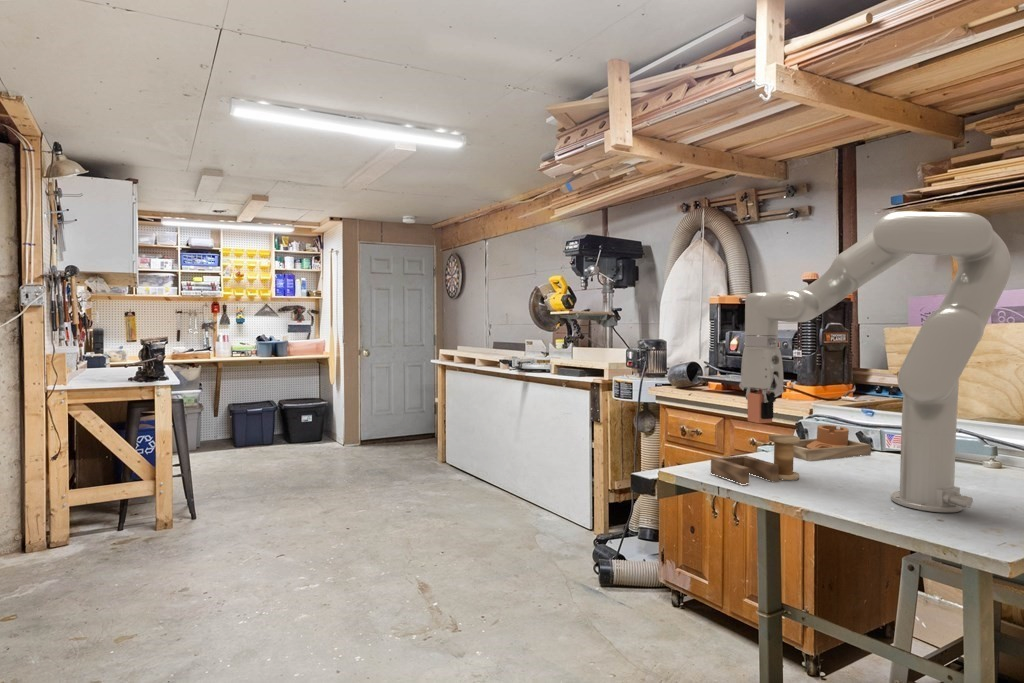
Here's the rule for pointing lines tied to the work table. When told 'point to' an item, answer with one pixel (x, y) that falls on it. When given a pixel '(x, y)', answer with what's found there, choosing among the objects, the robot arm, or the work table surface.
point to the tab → (756, 408)
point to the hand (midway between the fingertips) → (760, 416)
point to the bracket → (829, 437)
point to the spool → (784, 454)
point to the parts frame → (830, 451)
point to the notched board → (744, 468)
